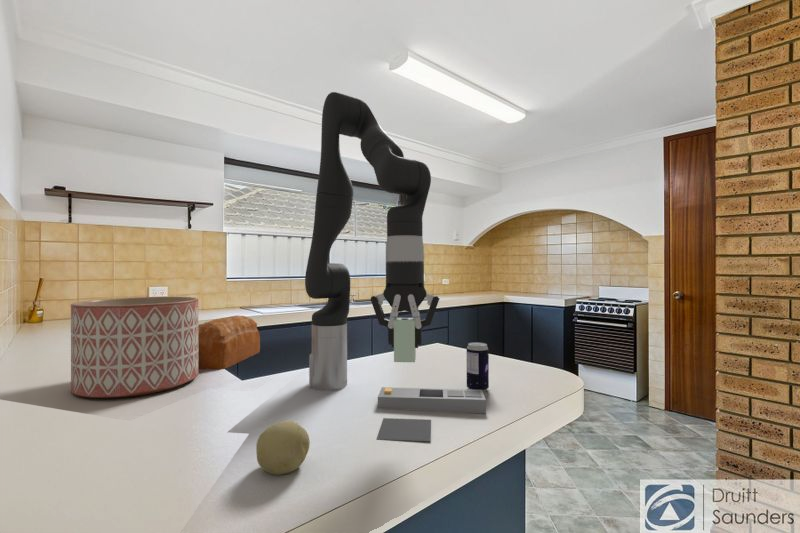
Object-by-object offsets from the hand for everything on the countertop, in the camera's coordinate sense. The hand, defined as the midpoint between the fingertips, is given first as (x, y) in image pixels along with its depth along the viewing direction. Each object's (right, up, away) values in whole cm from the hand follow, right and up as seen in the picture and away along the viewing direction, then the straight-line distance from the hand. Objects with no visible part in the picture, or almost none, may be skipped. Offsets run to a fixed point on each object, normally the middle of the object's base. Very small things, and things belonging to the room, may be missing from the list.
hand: (405, 346), depth 77 cm
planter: (-69, -17, +25) cm, 75 cm away
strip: (+6, -17, +14) cm, 22 cm away
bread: (-59, -17, +52) cm, 81 cm away
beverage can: (+19, -17, +25) cm, 36 cm away
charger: (0, -3, 0) cm, 3 cm away
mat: (0, -17, 0) cm, 17 cm away
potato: (-19, -17, -15) cm, 30 cm away
